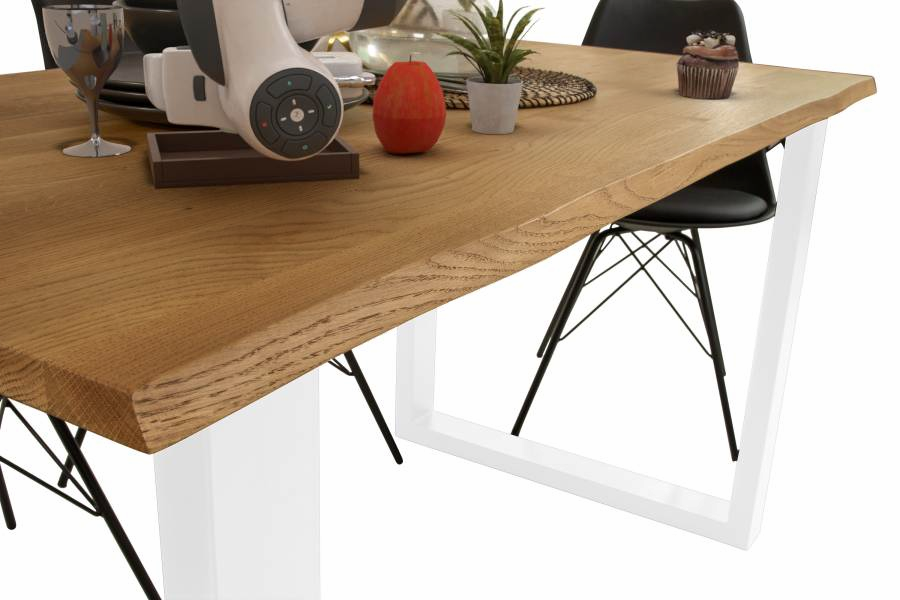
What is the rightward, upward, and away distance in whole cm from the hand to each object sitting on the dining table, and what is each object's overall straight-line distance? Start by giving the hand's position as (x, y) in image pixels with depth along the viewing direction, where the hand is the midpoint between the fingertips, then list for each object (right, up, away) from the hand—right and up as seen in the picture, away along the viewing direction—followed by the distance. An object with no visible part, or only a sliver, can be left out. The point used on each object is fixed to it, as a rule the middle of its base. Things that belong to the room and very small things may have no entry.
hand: (246, 65), depth 101 cm
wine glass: (-18, -7, +9) cm, 22 cm away
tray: (0, -10, +3) cm, 10 cm away
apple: (+16, -7, +12) cm, 21 cm away
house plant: (+26, -2, +27) cm, 38 cm away
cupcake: (+61, +9, +58) cm, 85 cm away
